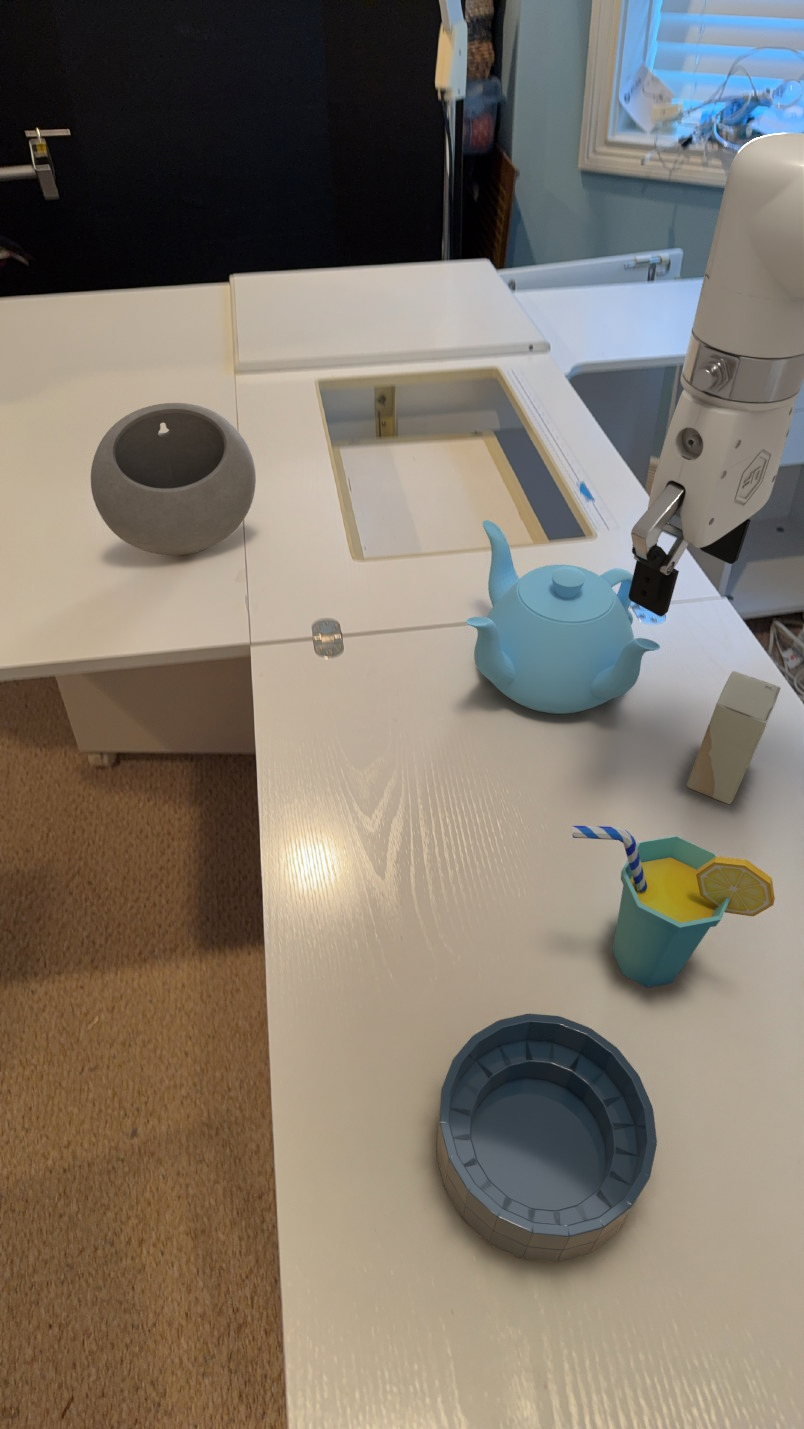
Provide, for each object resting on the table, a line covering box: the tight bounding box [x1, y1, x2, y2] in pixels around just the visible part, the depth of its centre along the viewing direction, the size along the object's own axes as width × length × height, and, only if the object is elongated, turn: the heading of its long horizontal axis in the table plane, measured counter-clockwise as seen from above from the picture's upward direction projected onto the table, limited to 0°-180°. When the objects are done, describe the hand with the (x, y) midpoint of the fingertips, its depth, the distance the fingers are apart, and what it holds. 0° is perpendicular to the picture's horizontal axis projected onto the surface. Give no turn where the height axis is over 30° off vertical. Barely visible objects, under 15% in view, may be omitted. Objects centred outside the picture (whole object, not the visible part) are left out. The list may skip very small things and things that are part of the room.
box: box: [686, 670, 782, 805], centre depth 78 cm, size 5×4×11 cm
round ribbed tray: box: [436, 1013, 658, 1263], centre depth 56 cm, size 13×13×6 cm
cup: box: [571, 825, 776, 988], centre depth 63 cm, size 14×8×15 cm, turn 79°
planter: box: [90, 402, 257, 556], centre depth 100 cm, size 18×7×19 cm, turn 110°
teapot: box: [465, 519, 661, 715], centre depth 88 cm, size 17×19×12 cm
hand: (683, 580), depth 69 cm, fingers open, 9 cm apart
